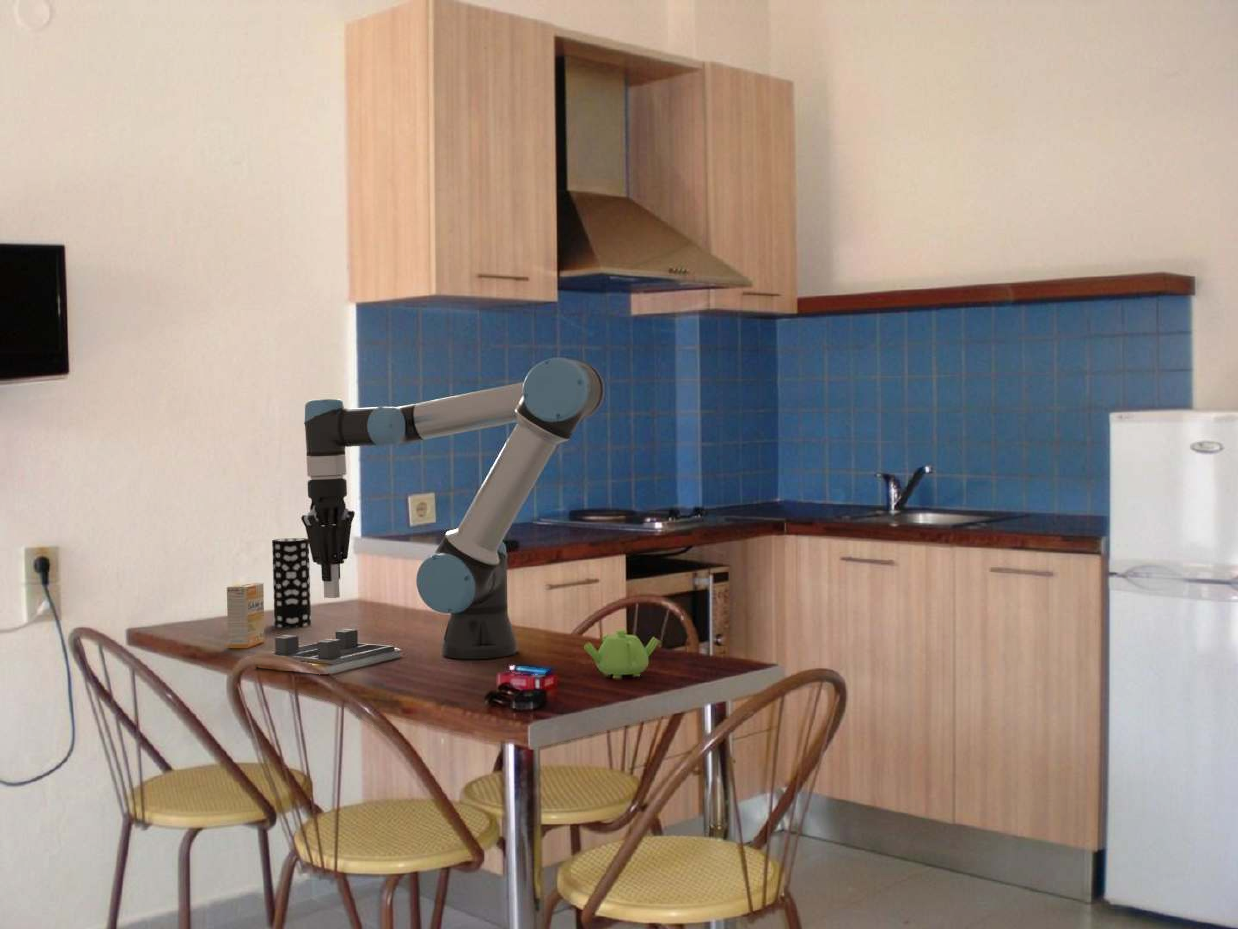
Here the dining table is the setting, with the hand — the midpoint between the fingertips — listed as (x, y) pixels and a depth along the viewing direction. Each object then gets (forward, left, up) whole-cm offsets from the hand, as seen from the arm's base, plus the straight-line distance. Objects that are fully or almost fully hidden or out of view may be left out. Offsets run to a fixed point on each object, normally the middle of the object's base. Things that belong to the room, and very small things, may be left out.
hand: (331, 597), depth 272 cm
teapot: (-59, -12, -13) cm, 61 cm away
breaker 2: (-5, +7, -11) cm, 14 cm away
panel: (0, +1, -13) cm, 13 cm away
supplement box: (+31, -7, -13) cm, 35 cm away
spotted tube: (+43, -33, -13) cm, 56 cm away
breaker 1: (+6, +7, -11) cm, 14 cm away
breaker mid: (0, -4, -11) cm, 12 cm away
